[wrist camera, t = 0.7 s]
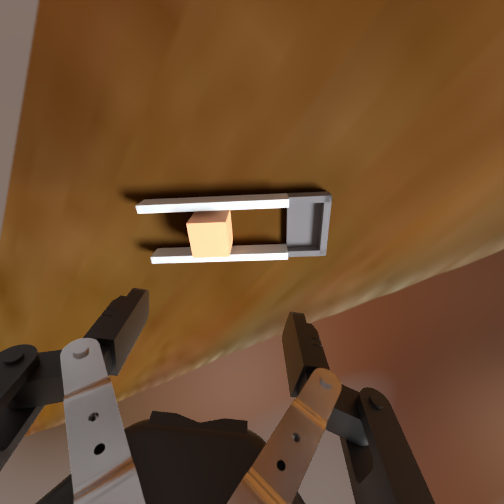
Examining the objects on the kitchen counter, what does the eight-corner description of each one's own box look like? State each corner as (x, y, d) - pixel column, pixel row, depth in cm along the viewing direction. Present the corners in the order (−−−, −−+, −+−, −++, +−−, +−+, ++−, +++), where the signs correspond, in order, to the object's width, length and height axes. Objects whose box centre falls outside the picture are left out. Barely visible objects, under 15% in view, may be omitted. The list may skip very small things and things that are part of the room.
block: (229, 208, 31) (225, 222, 27) (233, 240, 34) (229, 256, 30) (195, 210, 32) (186, 223, 28) (200, 241, 34) (192, 257, 30)
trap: (328, 191, 30) (332, 195, 28) (322, 249, 34) (325, 255, 32) (287, 193, 30) (288, 197, 28) (286, 250, 34) (287, 256, 32)
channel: (287, 193, 30) (289, 199, 28) (286, 250, 34) (287, 259, 32) (144, 199, 31) (135, 205, 29) (159, 254, 35) (152, 263, 33)
